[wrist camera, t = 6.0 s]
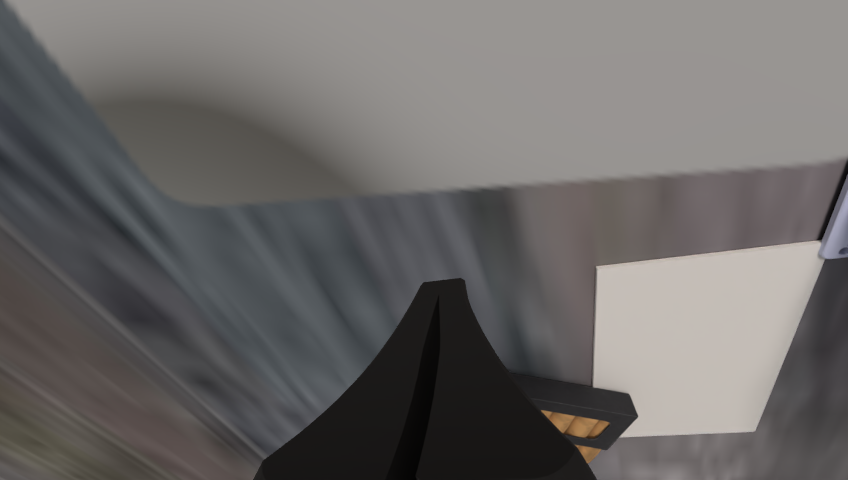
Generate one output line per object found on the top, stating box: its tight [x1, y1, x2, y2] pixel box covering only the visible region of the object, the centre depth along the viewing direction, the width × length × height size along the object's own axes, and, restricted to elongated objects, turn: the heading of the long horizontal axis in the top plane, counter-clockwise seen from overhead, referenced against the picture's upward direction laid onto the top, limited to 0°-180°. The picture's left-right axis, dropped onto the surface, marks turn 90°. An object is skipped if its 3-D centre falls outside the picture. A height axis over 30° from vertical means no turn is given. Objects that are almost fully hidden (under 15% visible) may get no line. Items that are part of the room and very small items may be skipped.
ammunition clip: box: [510, 373, 638, 463], centre depth 30 cm, size 11×2×12 cm
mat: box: [592, 240, 825, 437], centre depth 26 cm, size 12×18×1 cm
